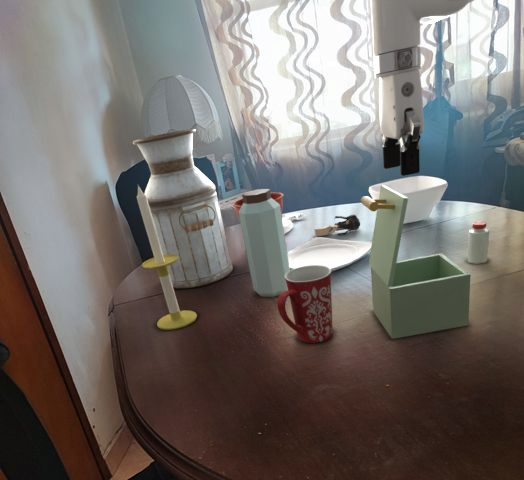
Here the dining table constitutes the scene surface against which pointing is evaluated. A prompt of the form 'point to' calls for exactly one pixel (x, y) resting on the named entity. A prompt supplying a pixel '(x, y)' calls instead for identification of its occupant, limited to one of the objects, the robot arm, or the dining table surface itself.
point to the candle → (163, 272)
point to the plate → (327, 253)
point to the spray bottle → (289, 221)
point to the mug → (308, 302)
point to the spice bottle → (478, 243)
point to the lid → (386, 231)
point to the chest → (422, 296)
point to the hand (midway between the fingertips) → (400, 170)
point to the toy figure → (339, 226)
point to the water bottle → (264, 242)
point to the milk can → (185, 211)
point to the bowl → (415, 194)
